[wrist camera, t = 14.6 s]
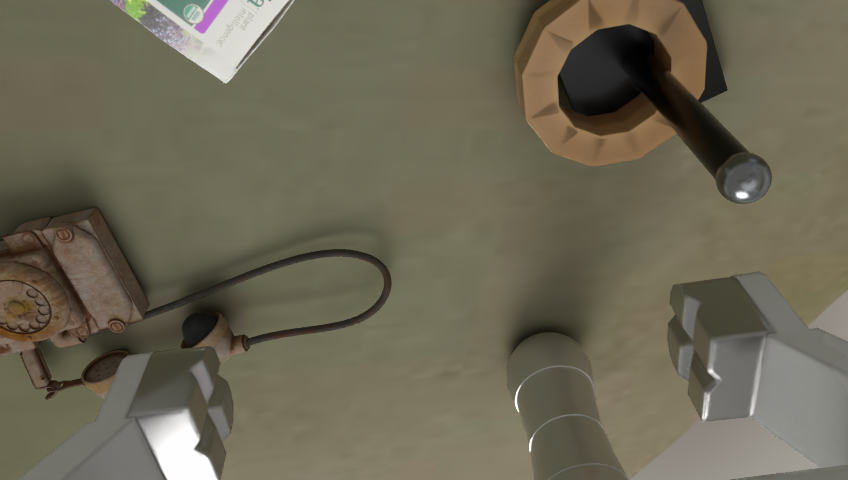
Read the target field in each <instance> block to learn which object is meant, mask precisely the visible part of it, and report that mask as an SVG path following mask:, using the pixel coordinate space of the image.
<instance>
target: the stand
mask: <svg viewBox="0 0 848 480" xmlns="http://www.w3.org/2000/svg"><path fill="white" fill-rule="evenodd" d="M680 1H681V2H682V3H683V4H684V5H685V6H686V8H687V10H688V11H689V13H690V15H691V16H692V18H693V20H694V21H695V23H696V25H697V27H698V28H699V30H700V32H701V33H702V35H703V37H704V38H705V40H706V42H707V55H706V72H705V89H704V91H703V93H702V94H701V96H700V98H699V99H698V100H697V99H696V98H695V97H694V96H693V95H692V94H691V93H690V92H689V91H688V90H687V89H686V88H685V87H684V86H683V85H682V83H681V82H680V81H679V80H678V79H677V78H676V77H675V76H674V75H673V74H672V73H671V72H670V71H669V70H668V69H667V68H666V67H665V66H664V65H663V64H662V63H661V62H660V61H659V60H658V59H657V58H656V57H655V56H654V41H653V39H652V38H651V36H650V34H649V33H648V31H646V30H643V29H641V28H638V27H636V26H633V25H631V24H626V25H620V26H614V27H609V28H603V29H597V30H596V31H595V32H593V33H592V34H591V35H590V36H588V37H587V38H586V39H584V40H583V41H582V42H580V43H579V44H578V45H576V46H575V47H574V48H572V49H571V51H570V53H569V55H568V57H567V59H566V61H565V63H564V65H563V67H562V69H561V71H560V73H559V75H558V76H559V78H560V81H561V83H562V86H563V88H564V90H565V93H566V95H567V97H568V100H569V102H570V104H571V107H572V109H573V111H575V112H578V113H581V114H583V115H586V116H594V115H600V114H606V113H612V112H616V111H617V110H619V109H620V108H621V107H623V106H624V105H626V104H627V103H629V102H630V101H631V100H633V99H634V98H636V97H637V96H638V95H640V94H641V92H642V93H643V94H644V95H645V96H646V97H647V99H648V100H649V101H650V102H651V103H652V105H653V106H654V107H655V108H656V109H657V111H658V112H659V113H660V114H661V115H662V116H663V118H664V119H665V120H666V121H667V122H668V124H669V125H670V126H671V127H672V128H673V130H674V131H675V132H676V133H677V134H678V136H679V137H680V138H681V139H682V140H683V142H684V143H685V144H686V145H687V146H688V147H689V149H690V150H691V151H692V152H693V153H694V155H695V156H696V157H697V158H698V159H699V161H700V162H701V163H702V164H703V165H704V167H705V168H706V169H707V170H708V171H709V173H710V174H711V175H712V176H713V177H714V178H715V180H716V185H717V188H718V190H719V192H720V193H721V194H722V195H723V196H724V197H725V198H726V199H727V200H729V201H731V202H734V203H738V204H747V203H752V202H755V201H757V200H759V199H760V198H761V197H763V196H764V195H765V194H766V192H767V191H768V189H769V187H770V185H771V181H772V174H771V170H770V167H769V165H768V164H767V162H766V161H765V160H764V159H762V158H761V157H760V156H758V155H756V154H752V153H750V152H749V151H748V150H747V149H746V148H745V147H744V146H743V145H742V144H741V143H740V142H739V141H738V140H737V139H736V138H735V137H734V136H733V135H732V134H731V133H730V132H729V131H728V130H727V129H726V128H725V127H724V126H723V125H722V124H721V123H720V122H719V121H718V120H717V119H716V118H715V117H714V116H713V115H712V114H711V113H710V112H709V111H708V110H707V109H706V108H705V107H704V106H703V105H702V104H701V102H703V101H706V100H708V99H710V98H712V97H714V96H716V95H719V94H721V93H723V92H725V91H727V86H726V83H725V79H724V76H723V72H722V69H721V66H720V62H719V59H718V55H717V52H716V48H715V45H714V41H713V38H712V34H711V31H710V27H709V24H708V21H707V17H706V14H705V10H704V7H703V3H702V0H680Z"/></svg>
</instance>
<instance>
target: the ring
mask: <svg viewBox="0 0 848 480" xmlns="http://www.w3.org/2000/svg"><path fill="white" fill-rule="evenodd" d="M626 24H631V25H633V26H636V27H638V28H641V29H643V30H646V31H648V33H649V34H650V36H651V38H652V39H653V41H654V56H655V57H656V58H657V59H658V60H659V61H660V62H661V63H662V64H663V65H664V66H665V67H666V68H667V69H668V70H669V71H670V72H671V73H672V74H673V75H674V76H675V77H676V78H677V79H678V80H679V81H680V82H681V83H682V85H683V86H684V87H685V88H686V89H687V90H688V91H689V92H690V93H691V94H692V95H693V96H694V97H695V98H696V99H697V100H698V99H699V98H700V96H701V94H702V93H703V91H704V89H705V72H706V55H707V42H706V40H705V38H704V37H703V35H702V33H701V32H700V30H699V28H698V27H697V25H696V23H695V21H694V20H693V18H692V16H691V15H690V13H689V11H688V10H687V8H686V6H685V5H684V4H683V3H682V2H681V1H680V0H549V1H548V2H547V3H546V4H544V5H543V6H542V7H541V8H539V9H538V10H537V11H535V12H534V14H533V16H532V18H531V20H530V22H529V25H528V27H527V29H526V31H525V33H524V35H523V38H522V40H521V42H520V44H519V46H518V49H517V51H516V53H515V55H514V58H513V60H514V71H515V82H516V93H517V101H518V103H519V106H520V108H521V110H522V112H523V115H524V117H525V119H526V121H527V122H528V124H529V125H530V126H531V127H532V129H533V130H534V131H535V132H536V134H537V135H538V136H539V137H540V139H541V140H542V141H543V142H544V144H545V145H546V146H547V148H548V149H549V150H550V151H551V152H552V153H554V154H557V155H560V156H563V157H566V158H569V159H571V160H574V161H577V162H580V163H583V164H586V165H589V166H599V165H605V164H611V163H618V162H624V161H630V160H636V159H639V158H641V157H642V156H644V155H645V154H647V153H648V152H650V151H651V150H653V149H654V148H656V147H657V146H659V145H660V144H662V143H663V142H665V141H666V140H668V139H669V138H671V137H672V136H674V135H675V134H676V132H675V131H674V130H673V128H672V127H671V126H670V125H669V124H668V122H667V121H666V120H665V119H664V118H663V116H662V115H661V114H660V113H659V112H658V111H657V109H656V108H655V107H654V106H653V105H652V103H651V102H650V101H649V100H648V99H647V97H646V96H645V95H644V94H643V93H642V92H641V94H640V95H638V96H637V97H636V98H634V99H633V100H631V101H630V102H629V103H627V104H626V105H624V106H623V107H621V108H620V109H619V110H617V111H616V112H612V113H606V114H600V115H594V116H586V115H583V114H581V113H578V112H575V111H572V110H569V109H567V108H564V107H563V105H562V104H561V103H560V101H559V95H558V75H559V73H560V71H561V69H562V67H563V65H564V63H565V61H566V59H567V57H568V55H569V53H570V51H571V49H572V48H574V47H575V46H576V45H578V44H579V43H580V42H582V41H583V40H584V39H586V38H587V37H588V36H590V35H591V34H592V33H593V32H595V31H596V30H597V29H603V28H609V27H614V26H620V25H626Z"/></svg>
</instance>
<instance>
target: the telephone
mask: <svg viewBox="0 0 848 480" xmlns="http://www.w3.org/2000/svg"><path fill="white" fill-rule="evenodd" d="M2 238H3V241H0V357H1V356H5V355H9V354H14V353H18V352H21V353H20V356H21V359H22V361H23V363H24V365H25V367H26V370H27V372H28V374H29V376H30V379H31V381H32V383H33V385H34V387H35V389H45V388H47V391H48V392H50V393H49V394H48V395H47V396H46V397H45V399H46V400H48V399H50V398H52V397H54V396H55V395H56V394H57V392H58V391H61V390H64V389H66V388H69V387H74V386H78V385H85V386H87V387H88V388H89V389H90V390H91V391H93V392H94V393H95V394H97V395H98V396H100V397H102V398H104V399H105V397H106V395H107V393H108V390H109V388H110V386H111V384H112V381H113V379H114V377H115V374H116V372H117V370H118V368H119V365H120V363H121V361H122V360H123V359H124V358H125V357H127V356H128V355H130V354H129V353H128V352H127V351H124V350H115V351H111V352H108V353H106V354H103V355H101V356H100V357H98V358H96V359H95V360H93V361H92V362H91V363H90V364H89V365H88V366H87V367H86V368H85V369H84V371H83V373H82V375H81V376H82V378H80V379H76V380H72V381H61V382H58V381H55V380H51V377H52V376H51V374H50V371H49V369H48V367H47V364H46V362H45V360H44V358H43V355H42V353H41V351H40V349H39V348H38V347H37V345H38V343H39V342H40V341H41V340H45V339H48V338H50V339H51V340H52V342H53V343H54V345H56V346H57V347H67V346H71V345H76V344H80V343H84V342H85V341H86V340H87V337H89V336H92V335H95V334H99V333H103V332H106V331H110V330H111V331H112V332H114V333H122V332H123V331H124V330H125V328H126V327H127V325H130V324H133V323H136V322H139V321H142V320H145V319H147V318H150V317H153V316H156V315H159V314H161V313H164V312H167V311H169V310H172V309H175V308H177V307H180V306H182V305H185V304H188V303H190V302H193V301H195V300H198V299H200V298H203V297H205V296H208V295H210V294H213V293H215V292H218V291H220V290H223V289H225V288H227V287H230V286H232V285H235V284H237V283H240V282H243V281H245V280H248V279H250V278H253V277H255V276H258V275H261V274H263V273H266V272H269V271H272V270H275V269H278V268H281V267H284V266H287V265H291V264H294V263H298V262H302V261H306V260H311V259H316V258H322V257H333V256H343V257H353V258H358V259H362V260H365V261H367V262H370V263H372V264H374V265H375V266H376V267H377V268H378V269H379V270H380V271H381V273H382V275H383V278H384V289H383V292H382V295H381V296H380V298H379V300H378V301H377V302H376V303H375V304H374V305H373V306H372V307H371V308H370V309H368V310H367V311H366V312H364V313H362V314H360V315H358V316H356V317H353V318H351V319H347V320H344V321H340V322H335V323H330V324H324V325H318V326H310V327H303V328H295V329H289V330H282V331H277V332H272V333H267V334H262V335H259V336H255V337H252V338H248V337H247V336H245V335H239V336H235V337H234V335H233V332H232V331H231V329H230V327H229V325H228V322H227V321H226V319H225V318H224V317H223V316H222V314H221V313H219V312H213V313H211V314H206V313H194V314H191V315H190V316H188V317H187V318H186V319H185V321H184V322H183V325H182V333H183V337H184V339H183V341H182V344H181V349H185V348H194V347H203V346H211V347H213V348H214V349H215V351H216V353H217V356H218V358H219V361H220V364H221V363H222V362H224V361H226V360H228V359H229V358H230V357H231V356H233V355H236V354H240V353H243V352H247V351H248V349H249V348H250V345H253V344H256V343H260V342H263V341H268V340H272V339H278V338H283V337H290V336H296V335H303V334H311V333H318V332H325V331H331V330H336V329H341V328H345V327H348V326H352V325H355V324H357V323H360V322H362V321H364V320H366V319H368V318H369V317H371V316H372V315H374V314H375V313H376V312H377V311H378V310H379V309H380V308H381V307H382V306H383V304H384V303H385V301H386V300H387V298H388V296H389V293H390V290H391V276H390V273H389V271H388V269H387V267H386V266H385V265H384V264H383V263H382V262H381V261H380V260H379V259H377V258H375V257H374V256H372V255H369V254H367V253H363V252H359V251H354V250H346V249H332V250H321V251H315V252H310V253H305V254H301V255H297V256H293V257H290V258H287V259H283V260H280V261H277V262H274V263H271V264H268V265H265V266H262V267H260V268H257V269H254V270H251V271H249V272H246V273H244V274H241V275H239V276H236V277H233V278H231V279H228V280H226V281H223V282H221V283H219V284H216V285H214V286H211V287H209V288H206V289H204V290H201V291H199V292H196V293H194V294H191V295H189V296H186V297H184V298H181V299H179V300H176V301H174V302H171V303H169V304H166V305H163V306H161V307H158V308H155V309H153V310H150V311H147V309H148V307H149V305H150V304H149V302H148V300H147V298H146V296H145V294H144V293H143V291H142V289H141V287H140V285H139V283H138V281H137V280H136V278H135V276H134V274H133V272H132V270H131V268H130V267H129V265H128V263H127V261H126V259H125V257H124V255H123V254H122V252H121V250H120V248H119V246H118V244H117V242H116V241H115V239H114V237H113V235H112V233H111V231H110V230H109V228H108V226H107V224H106V222H105V220H104V218H103V217H102V215H101V213H100V211H99V209H98V208H96V207H94V208H90V209H86V210H82V211H78V212H74V213H70V214H66V215H62V216H58V217H54V218H53V219H52V218H51V217H44V218H40V219H36V220H32V221H28V222H24V223H22V224H21V225H20V226H19V227H18V228H17V229H16V230H15V231H14V233H12V234H8V235H4V236H2ZM146 311H147V312H146ZM50 380H51V381H50ZM62 383H64V384H63V386H62V387H61V384H62ZM60 387H61V388H60Z"/></svg>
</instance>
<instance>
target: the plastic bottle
mask: <svg viewBox="0 0 848 480" xmlns="http://www.w3.org/2000/svg"><path fill="white" fill-rule="evenodd" d="M507 387H508V389H509V392H510V395H511V397H512V400H513V402H514V405H515V406H516V408H517V410H518V412H519V414H520V417H521V420H522V423H523V426H524V429H525V432H526V435H527V438H528V442H529V448H530V452H531V461H532V467H533V473H534V480H629V479H628V477H627V475H626V473H625V472H624V470H623V468H622V466H621V464H620V462H619V461H618V459H617V457H616V455H615V453H614V451H613V449H612V446H611V444H610V442H609V439H608V437H607V434H606V433H605V430H604V427H603V425H602V422H601V420H600V416H599V411H598V407H597V403H596V398H595V394H594V380H593V374H592V368H591V364H590V361H589V359H588V357H587V355H586V354H585V352H584V351H583V349H582V348H581V346H580V345H579V344H578V343H577V342H576V341H575V340H574V339H572V338H570V337H568V336H565V335H563V334H560V333H555V332H544V333H539V334H535V335H533V336H531V337H528V338H527V339H525V340H524V341H522V342H521V343H520V344H519V345H518V346H517V347H516V349H515V350H514V352H513V353H512V354H511V356H510V358H509V361H508V365H507Z"/></svg>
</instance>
